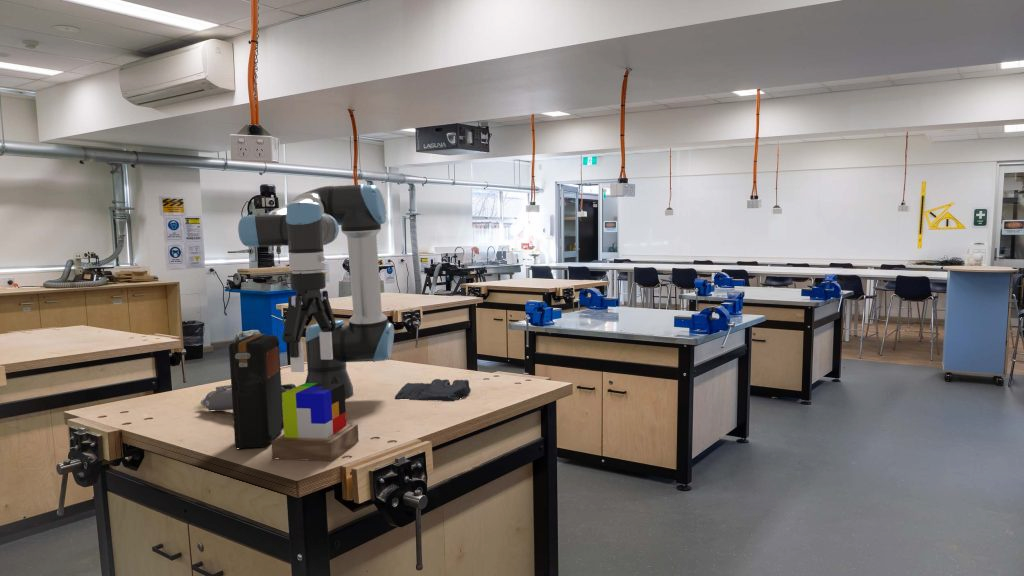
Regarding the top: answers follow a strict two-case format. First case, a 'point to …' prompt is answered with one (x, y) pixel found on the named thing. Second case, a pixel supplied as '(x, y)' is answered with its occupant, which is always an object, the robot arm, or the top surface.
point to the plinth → (316, 445)
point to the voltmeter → (256, 390)
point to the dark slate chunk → (435, 390)
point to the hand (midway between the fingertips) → (313, 365)
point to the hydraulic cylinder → (227, 397)
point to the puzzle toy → (314, 410)
